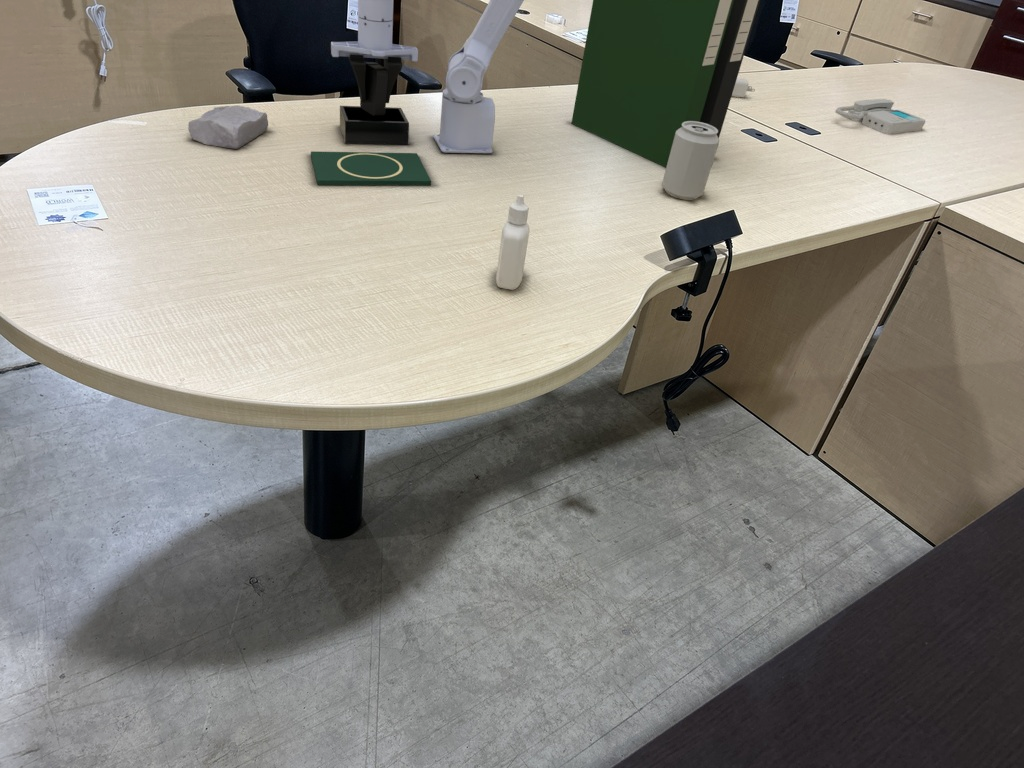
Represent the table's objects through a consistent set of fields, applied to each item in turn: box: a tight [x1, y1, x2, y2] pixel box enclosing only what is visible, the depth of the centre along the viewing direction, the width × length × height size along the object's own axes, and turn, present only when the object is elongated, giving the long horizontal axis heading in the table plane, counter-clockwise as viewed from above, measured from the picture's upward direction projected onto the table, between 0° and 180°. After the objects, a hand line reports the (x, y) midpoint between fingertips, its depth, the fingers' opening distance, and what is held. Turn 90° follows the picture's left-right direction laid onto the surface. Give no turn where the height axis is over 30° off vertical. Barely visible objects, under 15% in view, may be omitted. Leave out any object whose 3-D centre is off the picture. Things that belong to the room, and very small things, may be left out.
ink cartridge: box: [359, 61, 388, 116], centre depth 129 cm, size 5×2×8 cm, turn 40°
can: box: [661, 121, 720, 201], centre depth 128 cm, size 8×8×12 cm
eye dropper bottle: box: [495, 194, 530, 291], centre depth 94 cm, size 4×6×12 cm
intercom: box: [834, 98, 926, 135], centre depth 184 cm, size 13×4×25 cm
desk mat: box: [310, 150, 432, 186], centre depth 121 cm, size 18×12×1 cm, turn 107°
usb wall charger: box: [731, 77, 756, 99], centre depth 190 cm, size 4×7×4 cm, turn 96°
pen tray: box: [339, 105, 410, 146], centre depth 133 cm, size 11×8×4 cm
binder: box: [571, 0, 761, 168], centre depth 142 cm, size 27×15×32 cm, turn 43°
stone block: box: [187, 104, 269, 150], centre depth 125 cm, size 12×5×10 cm
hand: (374, 101), depth 130 cm, fingers closed on ink cartridge, 3 cm apart
